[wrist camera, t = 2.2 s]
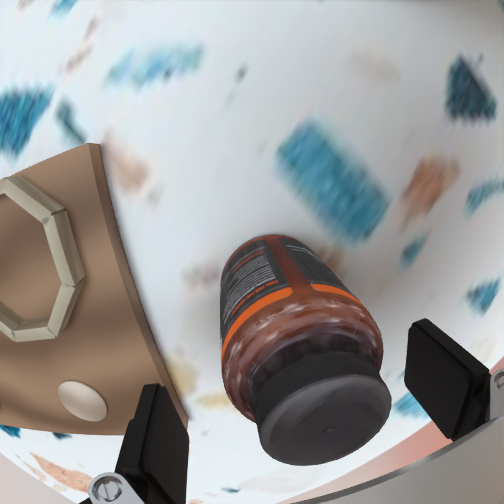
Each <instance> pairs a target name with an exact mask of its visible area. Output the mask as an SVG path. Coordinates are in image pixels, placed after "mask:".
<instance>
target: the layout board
mask: <svg viewBox="0 0 504 504" xmlns="http://www.w3.org/2000/svg"><path fill="white" fill-rule="evenodd" d="M154 383H160V385H161V386H165V387H166V388H167V390H168V393H169V395H170V397H171V399H172V401H173V404H174V406H175V408H176V410H177V412H178V414H179V416H180V418H181V420H182V422H183V424H184V426H185V428H186V430H187V427H188V417H187V415H186V413H185V411H184V409H183V406H182V404H181V402H180V400H179V398H178V396H177V393H176V391H175V389H174V387H173V384H172V382H171V380H170V378H169V375H168V373H167V371H166V368H165V366H164V363H163V361H162V359H161V356H160V354H159V351H158V349H157V346H156V344H155V341H154V338H153V336H152V333H151V330H150V328H149V325H148V322H147V320H146V317H145V314H144V311H143V309H142V306H141V303H140V300H139V297H138V294H137V291H136V288H135V285H134V282H133V279H132V276H131V272H130V269H129V266H128V263H127V259H126V256H125V253H124V249H123V246H122V242H121V238H120V235H119V231H118V227H117V224H116V220H115V216H114V212H113V208H112V204H111V200H110V195H109V191H108V187H107V182H106V177H105V173H104V168H103V163H102V158H101V152H100V147H99V144H93V143H87V144H84V145H81V146H79V147H76V148H73V149H71V150H68V151H66V152H63V153H61V154H58V155H56V156H54V157H51V158H49V159H46V160H44V161H42V162H40V163H37V164H35V165H33V166H31V167H28V168H26V169H24V170H22V171H20V172H18V173H16V174H14V175H12V176H10V177H5V178H3V179H1V180H0V424H2V425H7V426H13V427H19V428H25V429H32V430H40V431H48V432H58V433H70V434H86V435H125V432H126V429H127V425H128V423H129V421H130V420H131V419H134V415H135V412H136V408H137V405H138V402H139V398H140V395H141V392H142V389H143V386H144V385H145V384H154Z"/></svg>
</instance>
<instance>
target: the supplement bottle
mask: <svg viewBox="0 0 504 504" xmlns="http://www.w3.org/2000/svg"><path fill="white" fill-rule="evenodd" d="M220 334H221V337H220V339H221V364H222V378H223V382H224V387H225V390H226V393H227V396H228V397H229V399H230V400H231V402H232V404H233V405H234V406H235V408H236V409H238V410H239V411H240V413H241V414H242V415H244V416H245V417H246V418H248V419H249V420H251V421H252V422H255V423H256V424H257V428H258V433H259V438H260V443H261V445H262V448H263V449H264V451H265V452H266V453H267V454H268V455H270V456H271V457H272V458H273V459H276V460H278V461H280V462H282V463H286V464H290V465H296V466H307V465H319V464H323V463H327V462H330V461H334V460H337V459H340V458H342V457H345V456H347V455H349V454H351V453H353V452H354V451H356V450H358V449H359V448H361V447H362V446H364V445H365V444H366V443H367V442H369V441H370V440H371V439H372V438H373V437H374V436H375V435H376V434H377V433H378V432H379V431H380V429H381V428H382V427H383V425H384V424H385V422H386V420H387V419H388V417H389V413H390V410H391V401H392V399H391V395H390V392H389V390H388V388H387V386H386V384H385V383H384V381H383V380H382V378H381V377H380V374H379V371H380V369H381V364H382V359H383V351H384V350H383V342H382V338H381V333H380V330H379V328H378V326H377V324H376V322H375V321H374V319H373V318H372V316H371V315H370V313H369V312H368V311H367V309H366V308H365V307H364V306H363V305H362V304H361V303H360V302H359V300H358V299H357V298H356V297H355V296H354V295H353V294H352V293H351V292H350V291H349V289H348V288H347V287H346V286H345V285H344V284H343V283H342V282H341V281H340V280H339V279H338V278H337V277H336V275H335V274H334V273H333V272H332V271H331V270H330V269H329V268H328V267H327V266H326V265H325V264H324V263H323V262H322V261H321V260H320V259H319V258H318V257H317V256H316V255H315V254H314V253H313V252H312V251H311V250H310V249H309V248H308V247H307V246H305V245H304V244H302V243H301V242H299V241H297V240H295V239H293V238H290V237H286V236H281V235H268V236H262V237H258V238H255V239H252V240H250V241H248V242H247V243H245V244H243V245H242V246H241V247H239V248H238V249H237V250H236V251H235V252H234V253H233V254H232V256H231V257H230V258H229V259H228V261H227V263H226V265H225V267H224V270H223V272H222V278H221V283H220Z"/></svg>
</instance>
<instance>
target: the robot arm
mask: <svg viewBox="0 0 504 504" xmlns="http://www.w3.org/2000/svg"><path fill="white" fill-rule="evenodd" d="M404 382H405V385H406V387H407V389H408V390H409V391H410V392H411V394H412V395H413V396H414V397H415V399H416V400H417V401H418V402H419V404H420V405H421V406H422V407H423V409H424V410H425V411H426V413H427V414H428V415H429V416H430V418H431V419H432V420H433V421H434V423H435V424H436V425H437V427H438V428H439V429H440V431H441V432H442V433H443V434H444V436H445V437H446V438H447V439H450V438H451V440H452V441H453V442H452V443H451V444H449V445H447V446H445V447H443V448H441V449H440V450H438V451H436V452H434V453H432V454H430V455H428V456H426V457H424V458H422V459H420V460H418V461H416V462H413V463H411V464H409V465H407V466H405V467H402V468H400V469H398V470H395V471H393V472H390V473H388V474H386V475H383V476H381V477H378V478H375V479H373V480H370V481H367V482H365V483H362V484H359V485H356V486H353V487H350V488H347V489H344V490H341V491H338V492H334V493H331V494H327V495H324V496H320V497H316V498H312V499H308V500H304V501H300V502H296V503H291V504H504V368H503V369H499V370H497V371H495V372H494V373H493V374H492V375H491V374H490V373H489V369H488V368H487V367H486V366H484V365H483V364H482V363H481V362H480V361H478V360H477V359H476V358H475V357H474V356H472V355H471V354H470V353H469V352H468V351H466V350H465V349H464V348H463V347H462V346H460V345H459V344H458V343H457V342H456V341H454V340H453V339H452V338H451V337H449V336H448V335H447V334H446V333H444V332H443V331H442V330H441V329H439V328H438V327H437V326H436V325H434V324H433V323H432V322H431V321H429V320H428V319H426V318H424V319H422V320H419V321H416V322H414V323H412V326H411V327H410V328H409V331H408V345H407V357H406V367H405V376H404ZM188 453H189V435H188V432H187V430H186V428H185V426H184V424H183V422H182V420H181V418H180V416H179V414H178V412H177V410H176V408H175V406H174V404H173V401H172V399H171V397H170V395H169V393H168V390H167V388H166V387H165V386H161V385H160V383H154V384H145V385H144V386H143V389H142V392H141V395H140V398H139V402H138V405H137V408H136V412H135V415H134V419H131V420H130V421H129V423H128V425H127V429H126V432H125V436H124V439H123V443H122V446H121V450H120V453H119V457H118V460H117V464H116V468H115V471H114V473H112V472H108V473H103V474H100V475H98V476H97V477H95V478H94V479H93V480H92V481H91V483H90V485H89V487H88V495H89V498H87V499H86V500H84V501H82V502H81V503H79V504H186V486H187V469H188Z"/></svg>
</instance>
